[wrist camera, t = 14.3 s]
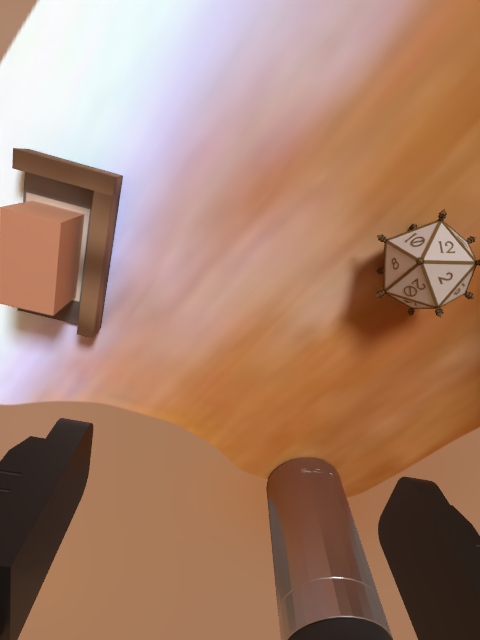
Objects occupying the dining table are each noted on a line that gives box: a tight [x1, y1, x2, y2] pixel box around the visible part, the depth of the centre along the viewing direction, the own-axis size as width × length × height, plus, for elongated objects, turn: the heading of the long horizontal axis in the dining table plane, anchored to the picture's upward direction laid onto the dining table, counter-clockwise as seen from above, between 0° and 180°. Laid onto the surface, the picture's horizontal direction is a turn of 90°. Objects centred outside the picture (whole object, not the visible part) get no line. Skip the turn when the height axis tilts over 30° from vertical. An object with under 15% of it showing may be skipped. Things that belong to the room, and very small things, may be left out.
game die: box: [376, 209, 480, 318], centre depth 33 cm, size 9×8×10 cm
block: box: [0, 201, 85, 316], centre depth 33 cm, size 4×8×5 cm, turn 165°
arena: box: [12, 148, 123, 338], centre depth 34 cm, size 15×8×2 cm, turn 165°
